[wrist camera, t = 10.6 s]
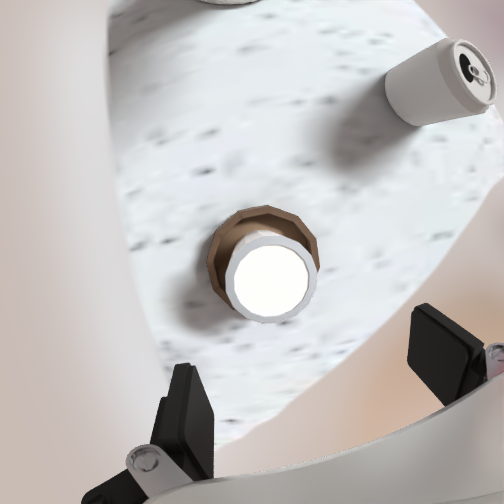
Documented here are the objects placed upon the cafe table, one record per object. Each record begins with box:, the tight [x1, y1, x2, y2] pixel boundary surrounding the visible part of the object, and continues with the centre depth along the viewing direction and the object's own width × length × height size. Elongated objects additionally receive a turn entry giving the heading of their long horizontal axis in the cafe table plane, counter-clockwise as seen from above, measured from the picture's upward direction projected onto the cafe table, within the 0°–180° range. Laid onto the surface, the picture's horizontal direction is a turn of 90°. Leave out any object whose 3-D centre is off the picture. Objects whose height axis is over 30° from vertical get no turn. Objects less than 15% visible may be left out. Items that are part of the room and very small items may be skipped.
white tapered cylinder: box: [225, 230, 317, 324], centre depth 24 cm, size 7×7×7 cm
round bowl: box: [206, 205, 320, 311], centre depth 27 cm, size 10×10×2 cm
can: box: [385, 38, 497, 126], centre depth 19 cm, size 8×8×12 cm
